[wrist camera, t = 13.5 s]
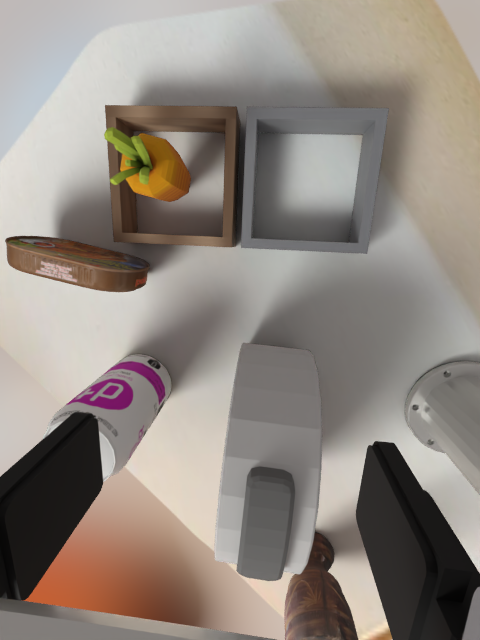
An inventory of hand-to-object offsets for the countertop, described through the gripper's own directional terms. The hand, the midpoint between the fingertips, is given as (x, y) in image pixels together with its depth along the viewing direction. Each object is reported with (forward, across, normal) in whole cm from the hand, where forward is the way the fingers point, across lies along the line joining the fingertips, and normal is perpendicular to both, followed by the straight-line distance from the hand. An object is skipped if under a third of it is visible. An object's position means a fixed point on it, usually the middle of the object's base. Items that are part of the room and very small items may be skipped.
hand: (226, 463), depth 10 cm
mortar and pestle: (+28, -11, +37) cm, 48 cm away
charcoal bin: (+28, -4, -13) cm, 31 cm away
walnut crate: (+28, +10, -13) cm, 32 cm away
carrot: (+28, +10, -13) cm, 33 cm away
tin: (+28, +20, -4) cm, 35 cm away
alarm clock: (+28, -2, +14) cm, 32 cm away
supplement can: (+28, +15, +12) cm, 34 cm away
